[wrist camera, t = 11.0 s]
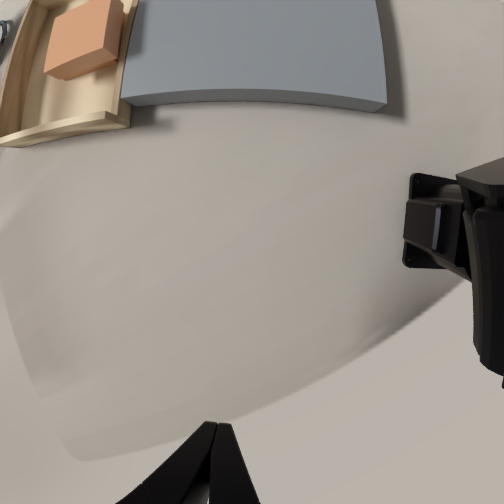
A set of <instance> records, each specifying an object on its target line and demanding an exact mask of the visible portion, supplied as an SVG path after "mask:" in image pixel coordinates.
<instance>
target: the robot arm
mask: <svg viewBox="0 0 504 504" xmlns="http://www.w3.org/2000/svg"><path fill="white" fill-rule="evenodd" d="M416 177H418V179H419V182H418V183H416V181H415V179H416ZM456 179H457V180H452V179H447V178H443V177H438V176H432V175H427V174H422V173H413V174H412V175H411V176H410V185H409V200H408V201H407V203H406V214H405V225H404V234H403V238H404V240H405V242H404V250H403V257H402V262H403V264H404V265H405V266H406V267H409V268H430V269H448V270H450V271H452V272H454V273H455V274H457V275H459V276H461V277H463V278H465V279H466V280H468V281H470V282H472V290H473V313H474V315H473V318H474V333H473V343H474V345H475V348H476V350H477V352H478V354H479V355H480V362H481V363H482V364H483V365H484V366H485V367H486V368H487V369H489V370H491V371H493V372H495V373H497V374H499V375H501V376H504V157H503V158H500V159H497V160H494V161H492V162H489V163H486V164H483V165H480V166H478V167H475V168H472V169H469V170H466V171H463V172H461V173H458V174H456ZM410 257H411V261H410V262H409V263H408V258H410ZM502 388H503V389H504V377H503V382H502ZM208 498H209V504H261V503H260V502H259V499H258V497H257V494H256V491H255V489H254V486H253V484H252V481H251V478H250V476H249V473H248V470H247V468H246V465H245V462H244V460H243V457H242V454H241V451H240V448H239V445H238V442H237V440H236V437H235V434H234V431H233V428H232V425H231V424H229V423H217V422H210V421H205V422H204V423H203V424H202V425H201V426H200V427H199V428H198V429H197V430H196V431H195V432H194V433H193V434H192V435H191V436H190V437H189V438H188V439H187V440H186V441H185V442H184V443H183V444H182V445H181V446H180V447H179V448H178V449H177V450H176V451H175V452H174V453H173V454H172V455H171V456H170V457H169V458H168V459H167V460H166V461H165V462H164V463H163V464H161V465H160V466H159V467H158V468H157V469H156V470H155V471H154V472H153V473H152V474H151V475H150V476H149V477H148V478H146V479H145V480H144V481H143V482H142V484H140V485H139V486H137V487H136V488H135V489H134V490H133V491H132V492H130V493H129V494H128V495H127V496H125V497H124V498H123V499H121V500H120V501H118V502H117V503H115V504H207V501H208Z"/></svg>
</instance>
